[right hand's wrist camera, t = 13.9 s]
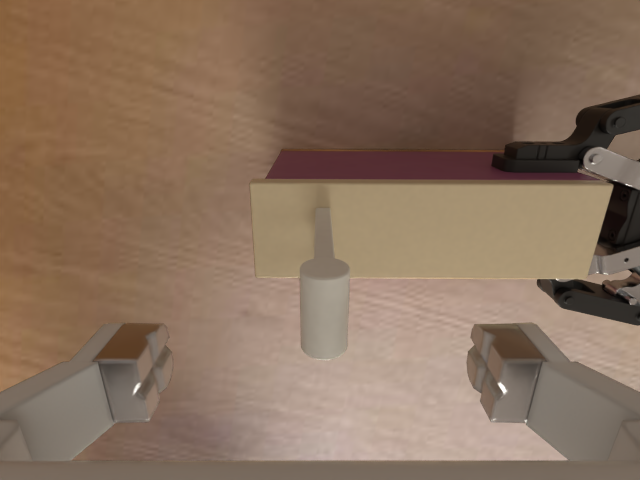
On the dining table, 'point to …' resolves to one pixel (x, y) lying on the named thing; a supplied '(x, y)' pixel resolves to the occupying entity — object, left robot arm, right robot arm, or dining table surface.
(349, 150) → the chest
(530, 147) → the left robot arm
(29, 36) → the dining table surface
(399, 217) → the lid
